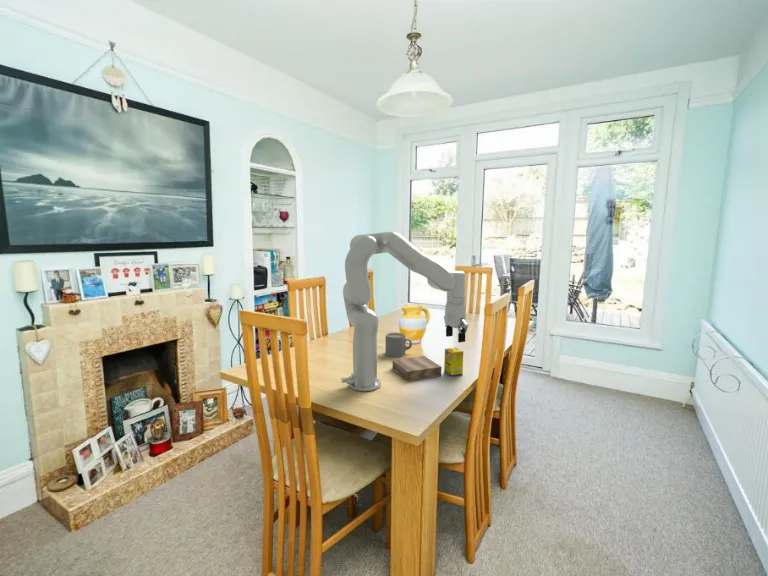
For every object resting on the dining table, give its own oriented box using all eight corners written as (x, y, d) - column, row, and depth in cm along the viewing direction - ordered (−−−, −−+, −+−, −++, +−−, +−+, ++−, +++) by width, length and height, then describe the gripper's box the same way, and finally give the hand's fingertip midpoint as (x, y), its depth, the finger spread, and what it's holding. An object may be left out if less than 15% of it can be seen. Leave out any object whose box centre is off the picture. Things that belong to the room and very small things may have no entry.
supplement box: (443, 372, 168) (444, 348, 166) (455, 370, 170) (456, 347, 168) (450, 377, 162) (451, 352, 161) (462, 375, 164) (463, 350, 163)
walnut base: (407, 380, 158) (407, 371, 158) (392, 368, 173) (392, 359, 172) (441, 375, 164) (441, 366, 163) (423, 364, 179) (424, 355, 178)
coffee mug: (384, 356, 190) (384, 337, 188) (386, 350, 199) (387, 332, 198) (410, 357, 188) (411, 338, 186) (412, 351, 197) (412, 333, 196)
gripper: (437, 297, 168) (437, 335, 171) (459, 304, 152) (459, 345, 155) (452, 296, 171) (452, 333, 173) (475, 302, 155) (474, 343, 158)
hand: (455, 339), depth 164 cm, fingers open, 9 cm apart
